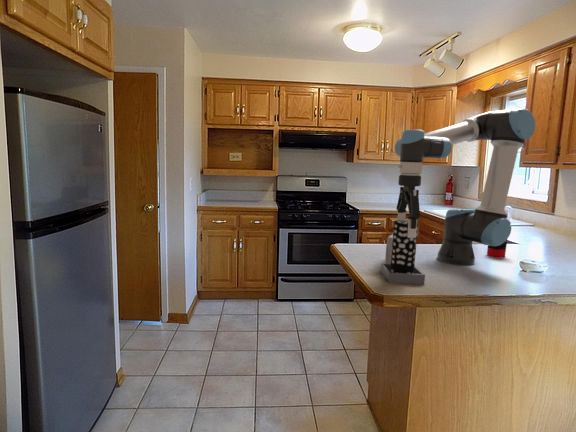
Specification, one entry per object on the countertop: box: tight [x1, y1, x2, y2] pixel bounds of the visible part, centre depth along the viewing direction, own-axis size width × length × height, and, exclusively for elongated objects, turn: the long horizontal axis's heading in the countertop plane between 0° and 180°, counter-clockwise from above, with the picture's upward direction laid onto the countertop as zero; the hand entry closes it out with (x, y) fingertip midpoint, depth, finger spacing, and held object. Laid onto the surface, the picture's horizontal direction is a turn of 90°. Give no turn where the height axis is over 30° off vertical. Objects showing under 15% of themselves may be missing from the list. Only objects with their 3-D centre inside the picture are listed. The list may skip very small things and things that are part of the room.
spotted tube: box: [390, 219, 419, 274], centre depth 137 cm, size 8×8×20 cm
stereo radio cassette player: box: [384, 231, 419, 264], centre depth 156 cm, size 21×8×20 cm, turn 150°
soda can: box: [486, 239, 508, 259], centre depth 178 cm, size 8×8×12 cm
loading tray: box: [379, 263, 426, 285], centre depth 139 cm, size 13×13×4 cm
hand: (405, 233), depth 137 cm, fingers open, 13 cm apart
